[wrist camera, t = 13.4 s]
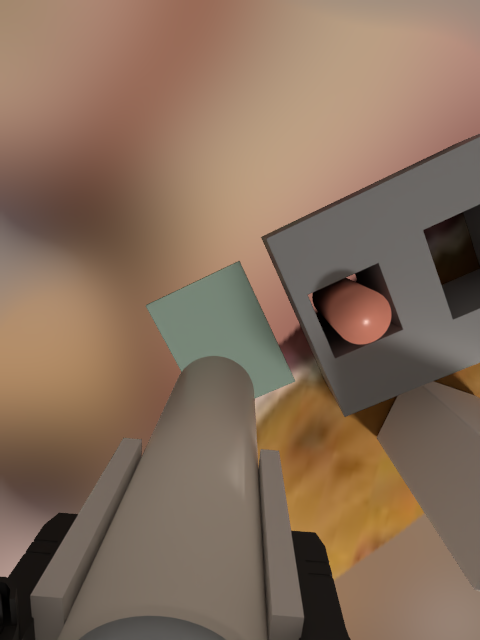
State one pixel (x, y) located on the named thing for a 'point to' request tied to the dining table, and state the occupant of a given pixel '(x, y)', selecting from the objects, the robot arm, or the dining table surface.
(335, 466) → the dining table surface
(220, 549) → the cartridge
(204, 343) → the mat
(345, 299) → the pink egg shape
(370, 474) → the dining table surface
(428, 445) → the milk carton
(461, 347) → the housing
